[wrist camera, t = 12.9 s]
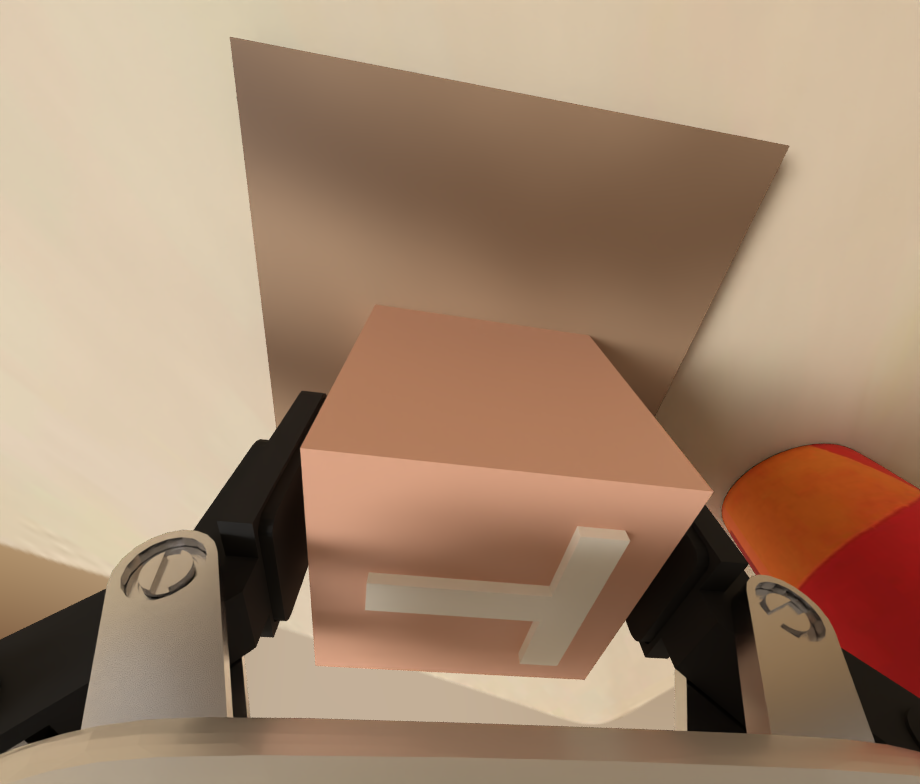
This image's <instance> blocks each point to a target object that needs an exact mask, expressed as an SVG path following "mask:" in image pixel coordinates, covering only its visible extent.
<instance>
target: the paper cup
mask: <svg viewBox="0 0 920 784" xmlns="http://www.w3.org/2000/svg"><path fill="white" fill-rule="evenodd" d="M722 518H723V521H724V524H725V526H726V528H727V529H728V531H729V533H730V534H731V536H732V538H733V539H734V541H735V543H736V544H737V546H738V548H739V549H740V551H741V552H742V554H743V555H744V557H745V559H746V560H747V562H748V563H749V565H750V567H751V568H752V570H753V571H754V573H755V574H756V575H768V576H772V577H774V578H777V579H780V580H782V581H784V582H786V583H788V584H790V585H792V586H794V587H795V588H797V589H798V590H799V591H801V592H802V593H804V594H805V595H806V596H808V597H809V598H810V599H811V600H812V601H813V602H814V603H815V604H816V605H817V606H818V607H819V608H820V609H821V610H822V611H823V613H824V614H825V615H826V616H827V618H828V619H829V621H830V623H831V625H832V626H833V628H834V630H835V633H836V636H837V638H838V641H839V644H840V647H841V648H843V649H844V650H846V651H847V652H849V653H850V654H852V655H854V656H855V657H857V658H858V659H860V660H861V661H863V662H864V663H866V664H867V665H869V666H871V667H872V668H874V669H875V670H877V671H878V672H880V673H881V674H883V675H884V676H886V677H888V678H889V679H891V680H892V681H894V682H895V683H897V684H898V685H900V686H902V687H903V688H905V689H906V690H908V691H909V692H911V693H912V694H914V695H915V696H917V697H919V698H920V489H918V488H917V487H915V486H913V485H912V484H910V483H908V482H907V481H905V480H904V479H902V478H900V477H899V476H897V475H895V474H894V473H892V472H890V471H889V470H887V469H885V468H884V467H882V466H880V465H879V464H877V463H876V462H874V461H872V460H870V459H869V458H867V457H865V456H863V455H862V454H860V453H858V452H856V451H854V450H852V449H850V448H847V447H845V446H841V445H836V444H812V445H806V446H801V447H797V448H793V449H790V450H787V451H784V452H781V453H779V454H776V455H774V456H772V457H770V458H768V459H766V460H764V461H763V462H761V463H759V464H758V465H756V466H754V467H753V468H752V469H750V470H749V471H748V472H746V473H745V474H744V475H743V476H742V477H741V478H740V479H739V480H738V481H737V482H736V483H735V484H734V485H733V486H732V488H731V489H730V490H729V492H728V493H727V495H726V497H725V499H724V502H723V505H722Z"/></svg>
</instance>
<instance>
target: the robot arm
mask: <svg viewBox="0 0 920 784" xmlns="http://www.w3.org/2000/svg"><path fill="white" fill-rule="evenodd" d="M326 398H327V395H326V393H320V392H311V391H301V392H300V393H299V395H298V396H297V398H296V400H295V401H294V403H293V404H292V406H291V407H290V409H289V410H288V412H287V413H286V415H285V416H284V418H283V420H282V421H281V423H280V424H279V426H278V427H277V429H276V430H275V432H274V433H273V435H272V436H271V438H270V440H262V439H260V440H258V441H256V442H255V443H254V444H253V445H252V447H251V448H250V450H249V451H248V453H247V454H246V455H245V457H244V458H243V460H242V461H241V463H240V464H239V466H238V467H237V468H236V470H235V471H234V473H233V474H232V476H231V477H230V478H229V480H228V481H227V483H226V484H225V486H224V487H223V488H222V490H221V491H220V493H219V494H218V496H217V497H216V499H215V500H214V501H213V503H212V504H211V506H210V507H209V509H208V510H207V511H206V513H205V514H204V516H203V517H202V519H201V520H200V522H199V523H198V524H197V526H196V527H195V529H194V530H193V531H192V530H180V531H174V532H168V533H165V534H162V535H159V536H157V537H154V538H151V539H150V540H148V541H146V542H144V543H142V544H141V545H139V546H137V547H136V548H134V549H133V550H132V551H131V552H130V553H128V554H127V555H126V556H125V557H123V558H122V560H121V561H120V562H119V563H118V565H117V566H116V567H115V568H114V570H113V571H112V573H111V576H110V578H109V581H108V583H107V588H106V589H105V590H102V591H100V592H98V593H96V594H94V595H92V596H90V597H88V598H86V599H84V600H82V601H80V602H78V603H76V604H74V605H71V606H69V607H67V608H65V609H63V610H61V611H59V612H57V613H55V614H53V615H51V616H48V617H46V618H44V619H43V620H40V621H38V622H36V623H34V624H32V625H30V626H28V627H26V628H23V629H21V630H20V631H17V632H15V633H13V634H11V635H9V636H7V637H5V638H3V639H1V640H0V784H920V698H919V697H917V696H915V695H914V694H912V693H911V692H909V691H908V690H906V689H905V688H903V687H902V686H900V685H898V684H897V683H895V682H894V681H892V680H891V679H889V678H888V677H886V676H884V675H883V674H881V673H880V672H878V671H877V670H875V669H874V668H872V667H871V666H869V665H867V664H866V663H864V662H863V661H861V660H860V659H858V658H857V657H855V656H854V655H852V654H850V653H849V652H847V651H846V650H844V649H843V648H841V647H840V644H839V641H838V638H837V636H836V633H835V630H834V628H833V626H832V625H831V623H830V621H829V619H828V618H827V616H826V615H825V614H824V613H823V611H822V610H821V609H820V608H819V607H818V606H817V605H816V604H815V603H814V602H813V601H812V600H811V599H810V598H809V597H808V596H806V595H805V594H804V593H802V592H801V591H799V590H798V589H797V588H795V587H794V586H792V585H790V584H788V583H786V582H784V581H782V580H780V579H777V578H774V577H772V576H768V575H755V576H752V577H750V578H749V577H748V575H747V574H746V573H745V571H744V569H745V568H746V567H747V566H748V564H749V563H748V562H747V560H746V559H745V558H744V556H743V555H742V554H741V552H740V551H739V550H738V548H737V547H736V546H735V544H734V543H733V542H732V540H731V539H730V537H729V536H728V535H727V533H726V532H725V531H724V529H723V528H722V527H721V525H720V524H719V523H718V521H717V520H716V519H715V517H714V516H713V515H712V513H711V512H710V510H709V509H708V508H707V506H706V505H704V507H703V508H702V510H701V511H700V512H699V514H698V515H697V517H696V518H695V520H694V521H693V523H692V524H691V526H690V527H689V528H688V530H687V531H686V533H685V534H684V536H683V537H682V539H681V540H680V542H679V543H678V544H677V546H676V547H675V549H674V550H673V552H672V553H671V555H670V556H669V558H668V559H667V560H666V562H665V563H664V565H663V566H662V568H661V569H660V571H659V572H658V574H657V575H656V576H655V578H654V579H653V581H652V582H651V584H650V585H649V587H648V588H647V590H646V591H645V592H644V594H643V595H642V597H641V598H640V600H639V601H638V603H637V604H636V606H635V607H634V609H633V610H632V611H631V613H630V614H629V616H628V617H627V619H626V622H627V625H628V628H629V630H630V633H631V635H632V637H633V638H634V639H635V640H636V641H639V643H640V645H641V648H642V650H643V653H644V655H645V657H647V658H665V659H668V658H669V657H670V658H671V661H672V663H673V665H674V667H675V702H674V703H675V705H674V731H673V730H647V729H646V730H645V729H622V728H620V729H619V728H594V727H567V726H536V725H509V724H507V725H506V724H480V723H447V722H416V721H415V722H414V721H380V720H347V719H315V718H250V708H249V697H248V687H247V677H246V666H245V656H244V655H245V654H247V653H248V652H250V651H251V650H253V649H254V648H256V646H257V643H258V641H259V638H260V637H274V635H275V632H276V630H277V627H278V624H279V622H280V621H287V620H288V619H289V617H290V615H291V613H292V610H293V607H294V605H295V602H296V599H297V596H298V593H299V590H300V588H301V585H302V582H303V579H304V576H305V573H306V570H307V568H308V551H307V537H306V523H305V509H304V495H303V481H302V467H301V453H300V447H301V445H302V444H303V442H304V440H305V438H306V436H307V434H308V432H309V430H310V428H311V426H312V424H313V423H314V421H315V419H316V417H317V415H318V413H319V411H320V409H321V407H322V405H323V403H324V402H325V400H326Z"/></svg>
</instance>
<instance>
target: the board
mask: <svg viewBox="0 0 920 784" xmlns="http://www.w3.org/2000/svg"><path fill="white" fill-rule="evenodd" d="M230 42H231V50H232V59H233V67H234V76H235V84H236V92H237V101H238V109H239V118H240V126H241V135H242V143H243V151H244V160H245V168H246V177H247V185H248V193H249V202H250V210H251V219H252V227H253V236H254V244H255V252H256V261H257V269H258V278H259V286H260V295H261V303H262V311H263V320H264V328H265V337H266V345H267V353H268V362H269V370H270V379H271V387H272V396H273V404H274V412H275V421H276V429H277V427H278V426H279V424H280V423H281V421H282V420H283V418H284V416H285V415H286V413H287V412H288V410H289V409H290V407H291V406H292V404H293V403H294V401H295V400H296V398H297V396H298V395H299V393H300V392H301V391H311V392H320V393H326V395H327V396H328V394H329V392H330V390H331V388H332V386H333V384H334V383H335V381H336V379H337V377H338V375H339V373H340V371H341V369H342V367H343V365H344V363H345V362H346V360H347V358H348V356H349V354H350V352H351V350H352V348H353V346H354V344H355V342H356V341H357V339H358V337H359V335H360V333H361V331H362V329H363V327H364V325H365V323H366V321H367V320H368V318H369V316H370V314H371V312H372V310H373V308H374V306H375V304H376V305H383V306H390V307H397V308H404V309H410V310H417V311H424V312H431V313H438V314H445V315H452V316H459V317H466V318H473V319H480V320H487V321H494V322H501V323H507V324H514V325H521V326H528V327H535V328H542V329H549V330H556V331H563V332H570V333H577V334H584V335H589V336H590V337H591V338H592V339H593V341H594V342H595V343H596V344H597V346H598V347H599V348H600V350H601V351H602V352H603V353H604V355H605V356H606V357H607V358H608V360H609V361H610V362H611V363H612V365H613V366H614V367H615V368H616V370H617V371H618V372H619V373H620V375H621V376H622V377H623V378H624V380H625V381H626V382H627V383H628V385H629V386H630V387H631V388H632V390H633V391H634V392H635V394H636V395H637V396H638V397H639V399H640V400H641V401H642V402H643V404H644V405H645V406H646V407H647V409H648V410H649V411H650V412H651V414H652V415H653V416H654V417H655V415H656V413H657V411H658V409H659V407H660V405H661V403H662V401H663V399H664V397H665V395H666V393H667V391H668V389H669V387H670V385H671V383H672V381H673V379H674V377H675V375H676V373H677V371H678V369H679V367H680V365H681V363H682V361H683V359H684V357H685V355H686V353H687V351H688V349H689V347H690V345H691V343H692V341H693V339H694V337H695V335H696V333H697V331H698V329H699V327H700V325H701V323H702V321H703V319H704V317H705V315H706V313H707V311H708V309H709V307H710V305H711V303H712V301H713V298H714V296H715V294H716V292H717V290H718V288H719V286H720V284H721V282H722V280H723V278H724V276H725V274H726V272H727V270H728V268H729V266H730V264H731V262H732V260H733V258H734V256H735V254H736V252H737V250H738V248H739V246H740V244H741V242H742V240H743V238H744V236H745V234H746V232H747V230H748V228H749V226H750V224H751V222H752V220H753V218H754V216H755V214H756V212H757V210H758V208H759V206H760V204H761V202H762V200H763V198H764V196H765V194H766V192H767V190H768V188H769V186H770V184H771V182H772V180H773V178H774V176H775V174H776V172H777V170H778V168H779V166H780V164H781V162H782V160H783V158H784V156H785V154H786V152H787V150H788V148H789V146H788V145H783V144H778V143H772V142H767V141H762V140H757V139H752V138H747V137H742V136H737V135H731V134H726V133H721V132H716V131H711V130H706V129H701V128H695V127H690V126H685V125H680V124H675V123H670V122H665V121H660V120H654V119H649V118H644V117H639V116H634V115H629V114H624V113H618V112H613V111H608V110H603V109H598V108H593V107H588V106H583V105H577V104H572V103H567V102H562V101H557V100H552V99H547V98H542V97H536V96H531V95H526V94H521V93H516V92H511V91H506V90H500V89H495V88H490V87H485V86H480V85H475V84H470V83H465V82H459V81H454V80H449V79H444V78H439V77H434V76H429V75H423V74H418V73H413V72H408V71H403V70H398V69H393V68H388V67H382V66H377V65H372V64H367V63H362V62H357V61H352V60H346V59H341V58H336V57H331V56H326V55H321V54H316V53H311V52H305V51H300V50H295V49H290V48H285V47H280V46H275V45H269V44H264V43H259V42H254V41H249V40H244V39H239V38H234V37H230Z"/></svg>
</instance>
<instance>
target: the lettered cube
mask: <svg viewBox="0 0 920 784" xmlns="http://www.w3.org/2000/svg"><path fill="white" fill-rule="evenodd" d="M300 453H301V467H302V481H303V495H304V509H305V523H306V537H307V551H308V566H309V580H310V594H311V608H312V622H313V636H314V650H315V664H316V666H330V667H349V668H370V669H388V670H407V671H426V672H446V673H465V674H485V675H504V676H523V677H543V678H562V679H582V680H585V678H586V677H587V675H588V674H589V673H590V671H591V670H592V668H593V667H594V665H595V664H596V662H597V661H598V659H599V658H600V657H601V655H602V654H603V652H604V651H605V649H606V648H607V646H608V645H609V643H610V642H611V641H612V639H613V638H614V636H615V635H616V633H617V632H618V630H619V629H620V627H621V626H622V625H623V623H624V622H625V620H626V619H627V617H628V616H629V614H630V613H631V611H632V610H633V609H634V607H635V606H636V604H637V603H638V601H639V600H640V598H641V597H642V595H643V594H644V592H645V591H646V590H647V588H648V587H649V585H650V584H651V582H652V581H653V579H654V578H655V576H656V575H657V574H658V572H659V571H660V569H661V568H662V566H663V565H664V563H665V562H666V560H667V559H668V558H669V556H670V555H671V553H672V552H673V550H674V549H675V547H676V546H677V544H678V543H679V542H680V540H681V539H682V537H683V536H684V534H685V533H686V531H687V530H688V528H689V527H690V526H691V524H692V523H693V521H694V520H695V518H696V517H697V515H698V514H699V512H700V511H701V510H702V508H703V507H704V505H705V504H706V502H707V501H708V499H709V498H710V496H711V495H712V494H713V490H712V489H711V488H710V487H709V485H708V484H707V483H706V482H705V480H704V479H703V478H702V476H701V475H700V474H699V473H698V471H697V470H696V469H695V468H694V466H693V465H692V464H691V463H690V461H689V460H688V459H687V458H686V456H685V455H684V454H683V453H682V451H681V450H680V449H679V448H678V446H677V445H676V444H675V443H674V441H673V440H672V439H671V438H670V436H669V435H668V434H667V432H666V431H665V430H664V429H663V427H662V426H661V425H660V424H659V422H658V421H657V420H656V419H655V417H654V416H653V415H652V414H651V412H650V411H649V410H648V409H647V407H646V406H645V405H644V404H643V402H642V401H641V400H640V399H639V397H638V396H637V395H636V394H635V392H634V391H633V390H632V388H631V387H630V386H629V385H628V383H627V382H626V381H625V380H624V378H623V377H622V376H621V375H620V373H619V372H618V371H617V370H616V368H615V367H614V366H613V365H612V363H611V362H610V361H609V360H608V358H607V357H606V356H605V355H604V353H603V352H602V351H601V350H600V348H599V347H598V346H597V344H596V343H595V342H594V341H593V339H592V338H591V337H590V336H589V335H584V334H577V333H570V332H563V331H556V330H549V329H542V328H535V327H528V326H521V325H514V324H507V323H501V322H494V321H487V320H480V319H473V318H466V317H459V316H452V315H445V314H438V313H431V312H424V311H417V310H410V309H404V308H397V307H390V306H383V305H376V304H375V306H374V308H373V310H372V312H371V314H370V316H369V318H368V320H367V321H366V323H365V325H364V327H363V329H362V331H361V333H360V335H359V337H358V339H357V341H356V342H355V344H354V346H353V348H352V350H351V352H350V354H349V356H348V358H347V360H346V362H345V363H344V365H343V367H342V369H341V371H340V373H339V375H338V377H337V379H336V381H335V383H334V384H333V386H332V388H331V390H330V392H329V394H328V396H327V398H326V400H325V402H324V403H323V405H322V407H321V409H320V411H319V413H318V415H317V417H316V419H315V421H314V423H313V424H312V426H311V428H310V430H309V432H308V434H307V436H306V438H305V440H304V442H303V444H302V445H301V447H300Z"/></svg>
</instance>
